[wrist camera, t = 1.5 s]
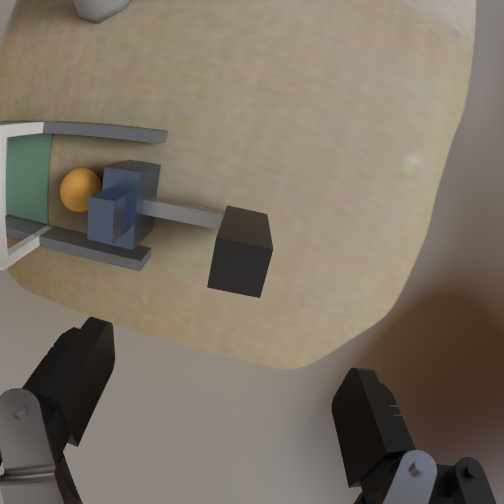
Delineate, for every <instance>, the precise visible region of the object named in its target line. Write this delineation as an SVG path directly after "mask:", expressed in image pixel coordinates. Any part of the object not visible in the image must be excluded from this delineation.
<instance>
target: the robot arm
mask: <svg viewBox="0 0 504 504" xmlns="http://www.w3.org/2000/svg"><path fill="white" fill-rule="evenodd" d="M114 363H115V350H114V335H113V325H112V323H111V322H107V321H104V320H100V319H97V318H94V317H89V318H88V319H87V321H86V322H85V323H84V325H83V326H82V327H81V329H78V328H75V327H73V328H72V329H70V330H68V331H66V332H65V333H63V334H62V335H61V336H60V337H59V339H58V340H57V341H56V342H55V344H54V346H53V347H51V349H50V350H49V351H48V353H47V355H45V357H44V358H43V360H42V361H41V362H40V364H39V365H38V366H37V368H36V369H35V371H34V372H33V374H32V375H31V376H30V378H29V379H28V381H27V382H26V384H25V385H24V386H23V387H22V388H14V389H10V390H7V391H6V392H4V393H3V394H2V395H1V396H0V466H1V463H2V461H3V465H4V474H3V475H1V476H0V488H1V492H2V496H3V500H4V504H83V503H82V501H81V498H80V496H79V494H78V491H77V489H76V486H75V484H74V481H73V479H72V476H71V473H70V470H69V468H68V465H67V462H66V459H65V456H64V453H63V450H64V448H65V446H66V444H67V443H70V444H72V445H74V446H77V447H78V445H79V443H80V441H81V438H82V436H83V434H84V431H85V429H86V427H87V425H88V423H89V420H90V418H91V416H92V413H93V411H94V409H95V407H96V405H97V403H98V401H99V399H100V397H101V394H102V392H103V390H104V388H105V386H106V384H107V382H108V380H109V378H110V376H111V374H112V371H113V368H114ZM332 414H333V419H334V422H335V427H336V431H337V436H338V440H339V444H340V449H341V454H342V458H343V463H344V467H345V472H346V477H347V481H348V486H349V488H350V487H360V486H361V487H362V492H361V493H360V494H359V496H358V497H357V499H356V501H355V502H354V504H496V502H495V499H494V496H493V493H492V491H491V488H490V485H489V483H488V480H487V477H486V475H485V473H484V470H483V468H482V466H481V464H480V463H479V462H478V461H477V460H475V459H473V458H470V457H464V458H462V459H460V460H459V461H458V462H457V463H456V464H455V465H454V466H448V465H439V464H435V462H434V460H433V459H432V457H431V456H429V455H428V454H427V453H425V452H422V451H418V450H416V448H415V446H414V444H413V441H412V439H411V436H410V434H409V431H408V429H407V426H406V424H405V422H404V419H403V417H402V416H401V413H400V410H399V408H398V407H397V403H396V401H395V399H394V396H393V394H392V393H391V392H390V390H389V389H388V388H387V387H386V386H385V385H384V384H381V383H380V382H379V380H378V377H377V375H376V373H375V371H374V370H373V369H366V368H351V369H350V370H349V372H348V373H347V375H346V377H345V379H344V380H343V382H342V384H341V386H340V388H339V389H338V391H337V392H336V394H335V396H334V398H333V402H332Z"/></svg>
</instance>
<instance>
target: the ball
mask: <svg viewBox="0 0 504 504" xmlns="http://www.w3.org/2000/svg"><path fill="white" fill-rule="evenodd" d="M100 191H101V183H100V180H99V178H98V176H97V175H96V174H95V173H94V172H93V171H91V170H90V169H87V168H77V169H74V170H72V171H70V172H69V173H68V174H67V175H66V176H65V177H64V179H63V181H62V183H61V186H60V196H61V200H62V202H63V203H64V205H65V206H66V207H67V208H68V209H70V210H72V211H74V212H84V211H87V210H88V202H89V196H91V195H94V194H96V193H98V192H100Z"/></svg>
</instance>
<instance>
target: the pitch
mask: <svg viewBox="0 0 504 504" xmlns="http://www.w3.org/2000/svg"><path fill="white" fill-rule="evenodd" d="M167 132H168V131H165V130H157V129H149V128H141V127H132V126H123V125H112V124H100V123H86V122H67V121H1V122H0V270H1V271H4V270H5V269H7V268H8V267H10V266H11V265H12V264H14V263H15V262H17V261H18V260H19V259H21V258H22V257H24V256H25V255H26V254H28V253H29V252H31V251H32V250H34V249H35V248H37V247H38V246H39V245H40V246H43V247H47V248H51V249H54V250H58V251H62V252H65V253H69V254H73V255H77V256H81V257H84V258H88V259H92V260H96V261H100V262H104V263H108V264H112V265H116V266H120V267H124V268H129V269H133V270H137V271H141V269H142V268H143V267H144V265H145V264H146V263H147V261H148V260H149V259H150V254H151V248H148V247H143V246H139V245H137V246H136V247H135V248H134V249H133V250H131V249H126V248H122V247H118V246H113V245H109V244H104V243H100V242H98V241H93V240H89V239H87V234H85V233H81V232H76V231H72V230H68V229H63V228H59V227H55V226H51V225H46V224H47V223H48V183H49V166H50V153H51V143H52V135H53V133H55V134H71V135H84V136H95V137H105V138H115V139H124V140H132V141H140V142H147V143H154V144H155V143H163V142H166V138H167ZM7 214H8V215H7ZM9 215H12V216H9ZM13 216H16V217H13ZM17 217H21V218H25V219H29V220H33V221H29V220H25V219H21V218H17ZM34 221H37V222H34ZM38 222H42V223H46V224H42V223H38ZM6 236H9V237H12V238H15V239H19V240H22V241H20V242H19V243H17V244H16V245H14V246H12V247H11V248H9V249H8V247H7V237H6Z"/></svg>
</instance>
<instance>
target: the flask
mask: <svg viewBox="0 0 504 504" xmlns="http://www.w3.org/2000/svg"><path fill="white" fill-rule="evenodd" d="M130 1H131V0H73V3H74V5H75V7H76V10H77V12H78V14H79V16H80V17H81V18H84V19H88V20H91V21H94V22H96V23H100V22H101V21H103V20H105V19H106V18H108V17H110V16H112V15H113V14H115V13H117V12H119V11H121V10H122V9H124V8H125V7H126V6H127V5H128V3H129V2H130Z"/></svg>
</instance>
